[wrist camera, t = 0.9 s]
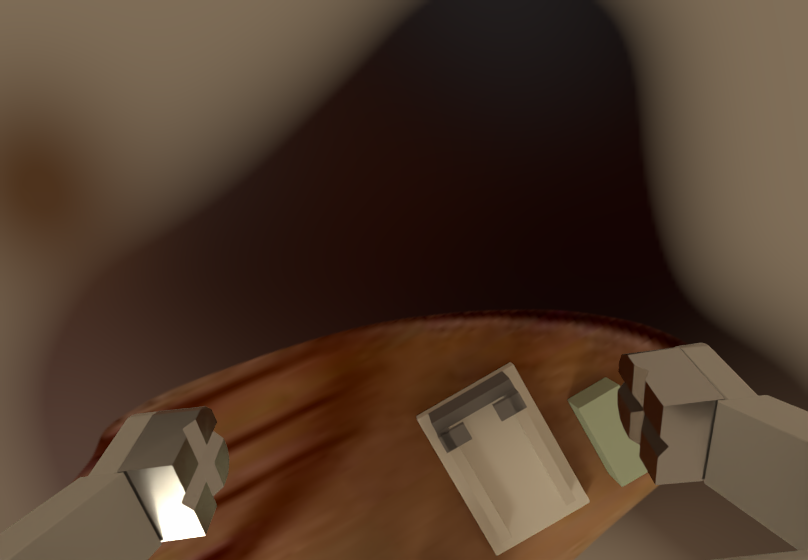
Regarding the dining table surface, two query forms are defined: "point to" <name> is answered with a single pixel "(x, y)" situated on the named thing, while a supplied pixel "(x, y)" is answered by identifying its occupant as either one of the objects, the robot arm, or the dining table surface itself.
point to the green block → (608, 430)
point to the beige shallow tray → (503, 458)
